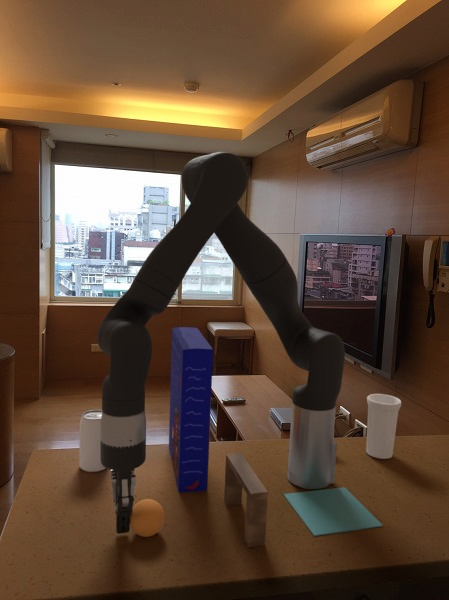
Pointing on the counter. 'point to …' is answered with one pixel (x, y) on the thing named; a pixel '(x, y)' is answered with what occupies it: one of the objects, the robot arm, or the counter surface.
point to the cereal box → (190, 408)
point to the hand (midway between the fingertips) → (122, 530)
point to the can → (90, 441)
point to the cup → (381, 424)
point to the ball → (147, 517)
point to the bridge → (257, 497)
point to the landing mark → (331, 511)
